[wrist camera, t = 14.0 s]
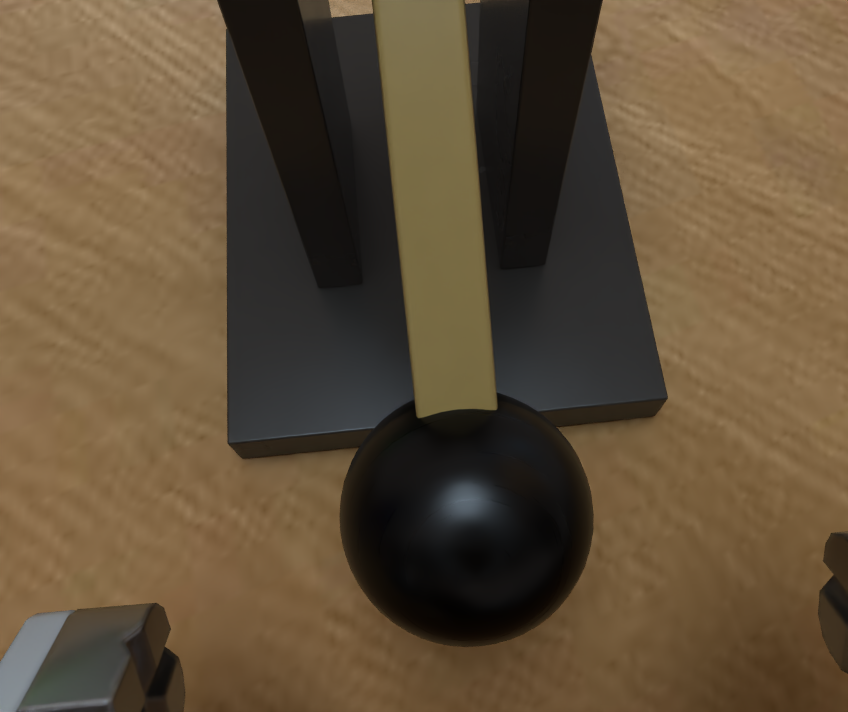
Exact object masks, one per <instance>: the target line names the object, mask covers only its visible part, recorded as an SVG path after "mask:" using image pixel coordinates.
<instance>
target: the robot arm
mask: <svg viewBox="0 0 848 712" xmlns="http://www.w3.org/2000/svg"><path fill="white" fill-rule="evenodd" d="M823 562H824V563H825V564H826V565H827V567H828V568H829V569H830V571H831V572H832V573H833V574H834V575H833V576H832V577H831V579H830V580H829V581H828V582H827V583H826V584H825V585H824V587H823V588H822V589H821V590H820V592H819V606H818V616H819V621H820V626H821V631H822V636H823V638H824V641H825V643H826V645H827V647H828V650H829V652H830V654H831V655H832V657H833V658H834V660H835V661H836V663H837V664H838V666H839V667H840V669H841V670H842V671H844V672H845V673H847V674H848V531H845V532H836V533H831V534H830V536H829V538H828V540H827V542H826V544H825V550H824V558H823ZM170 630H171V628H170V625H169V622H168V618H167V615H166V612H165V609H164V607H162V606H161V605H159V604H158V603H149V604H136V605H124V606H112V607H100V608H87V609H77V610H76V611H75V610H68V611H57V612H47V613H37V614H35V615H34V616H32V617H30V618H28V619H27V620H26V621H25V623H24V624H23V626H22V628H21V629H20V631H19V632H18V634H17V636H16V637H15V639H14V640H13V642H12V644H11V645H10V647H9V649H8V650H7V652H6V653H5V655H4V657H3V658H2V660H1V661H0V712H184V703H185V685H184V676H183V671H182V667H181V663H180V659H179V657H178V656H176V655H175V654H174V653H173V652H171V651H170V650H169V649H167V648H166V647H165V644H166V642H167V639H168V636H169V633H170Z"/></svg>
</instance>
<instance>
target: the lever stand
mask: <svg viewBox="0 0 848 712" xmlns="http://www.w3.org/2000/svg"><path fill="white" fill-rule="evenodd" d="M217 1H218V4H219V7H220V10H221V13H222V15H223V18H224V21H225V24H226V27H227V29H226V135H227V436H228V444H229V446H230V447H231V448H232V449H233V450H234V451H235V452H236V453H237V454H238V455H239V456H240V457H241V458H243V459H244V458H254V457H264V456H273V455H283V454H293V453H302V452H312V451H322V450H332V449H341V448H351V447H360V446H361V444H362V443H363V441H364V440H365V439H366V437H367V436H368V435H369V434H370V432H371V431H372V430H373V429H374V428H375V427H376V426H377V425H378V424H379V423H380V422H381V421H382V420H383V419H384V418H386V417H387V416H388V415H389V414H391V413H392V412H393V411H394V410H396V409H398V408H399V407H401V406H403V405H404V404H406V403H408V402H410V401H412V400H414V391H413V382H412V372H411V363H410V353H409V344H408V335H407V325H406V316H405V306H404V297H403V288H402V278H401V269H400V259H399V250H398V241H397V231H396V222H395V213H394V203H393V194H392V184H391V175H390V166H389V156H388V147H387V137H386V128H385V119H384V109H383V100H382V91H381V81H380V72H379V62H378V53H377V44H376V34H375V25H374V15H373V14H363V15H353V16H343V17H333V18H332V17H331V12H330V7H329V1H328V0H217ZM602 1H603V0H480V3H471V4H465V11H466V23H467V36H468V48H469V60H470V72H471V85H472V97H473V109H474V121H475V134H476V146H477V158H478V170H479V183H480V195H481V207H482V219H483V232H484V244H485V256H486V268H487V281H488V293H489V305H490V317H491V330H492V342H493V354H494V366H495V379H496V391H497V393H500V394H503V395H506V396H509V397H512V398H514V399H516V400H518V401H520V402H522V403H524V404H526V405H528V406H530V407H532V408H533V409H535V410H536V411H538V412H539V413H540V414H542V415H543V416H545V417H546V418H547V419H548V420H549V421H550V422H551V423H552V424H553V425H554V426H564V425H574V424H583V423H593V422H603V421H613V420H622V419H632V418H642V417H651V416H655V415H656V413H657V412H658V411H659V409H660V408H661V407H662V406H663V404H664V403H665V402H666V400H667V399H668V396H667V391H666V387H665V382H664V378H663V373H662V369H661V364H660V360H659V355H658V351H657V347H656V342H655V338H654V333H653V329H652V324H651V320H650V315H649V311H648V306H647V302H646V297H645V293H644V289H643V284H642V280H641V275H640V271H639V266H638V262H637V257H636V253H635V248H634V244H633V239H632V235H631V230H630V226H629V222H628V217H627V213H626V208H625V204H624V199H623V195H622V190H621V186H620V181H619V177H618V172H617V168H616V164H615V159H614V155H613V150H612V146H611V141H610V137H609V132H608V128H607V123H606V119H605V114H604V110H603V105H602V101H601V97H600V92H599V88H598V83H597V79H596V74H595V70H594V65H593V61H592V56H591V52H592V47H593V43H594V38H595V33H596V29H597V24H598V20H599V15H600V10H601V6H602Z"/></svg>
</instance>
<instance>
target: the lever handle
mask: <svg viewBox="0 0 848 712" xmlns="http://www.w3.org/2000/svg"><path fill="white" fill-rule="evenodd" d="M372 6H373V15H374V25H375V34H376V44H377V53H378V62H379V72H380V81H381V91H382V100H383V109H384V119H385V128H386V137H387V147H388V156H389V166H390V175H391V184H392V194H393V203H394V213H395V222H396V231H397V241H398V250H399V259H400V269H401V278H402V288H403V297H404V306H405V316H406V325H407V335H408V344H409V353H410V363H411V372H412V382H413V391H414V400H412V401H410V402H408V403H406V404H404V405H403V406H401V407H399V408H398V409H396V410H394V411H393V412H392V413H391V414H389V415H388V416H387V417H386V418H384V419H383V420H382V421H381V422H380V423H379V424H378V425H377V426H376V427H375V428H374V429H373V430H372V431H371V432H370V434H369V435H368V436H367V437H366V439H365V440H364V441H363V443H362V444H361V446H360V447H359V449H358V451H357V452H356V454H355V456H354V458H353V460H352V462H351V465H350V467H349V470H348V473H347V475H346V478H345V481H344V485H343V490H342V494H341V503H340V531H341V538H342V543H343V548H344V551H345V555H346V558H347V561H348V563H349V566H350V569H351V571H352V573H353V575H354V577H355V579H356V581H357V583H358V584H359V586H360V587H361V589H362V590H363V592H364V593H365V594H366V596H367V597H368V599H369V600H370V601H371V602H372V603H373V605H374V606H375V607H376V608H377V609H378V610H379V611H380V612H381V613H382V614H384V615H385V616H386V617H387V618H388V619H390V620H391V621H392V622H393V623H395V624H396V625H398V626H400V627H401V628H403V629H404V630H406V631H408V632H409V633H411V634H413V635H416V636H418V637H420V638H422V639H425V640H428V641H431V642H435V643H439V644H444V645H449V646H460V647H475V646H485V645H491V644H496V643H500V642H503V641H507V640H510V639H512V638H515V637H517V636H520V635H522V634H524V633H526V632H528V631H529V630H531V629H533V628H535V627H536V626H538V625H539V624H540V623H542V622H543V621H545V620H546V619H547V618H548V617H550V616H551V615H552V614H553V613H554V612H555V611H556V610H557V609H558V608H559V607H560V606H561V604H562V603H563V602H564V601H565V599H566V598H567V597H568V596H569V594H570V593H571V591H572V590H573V588H574V586H575V585H576V583H577V582H578V580H579V578H580V576H581V574H582V571H583V569H584V567H585V564H586V561H587V558H588V554H589V551H590V547H591V541H592V535H593V505H592V497H591V491H590V487H589V483H588V480H587V477H586V474H585V472H584V469H583V467H582V465H581V462H580V460H579V458H578V456H577V454H576V453H575V451H574V449H573V448H572V446H571V444H570V443H569V442H568V441H567V439H566V438H565V437H564V436H563V435H562V433H561V432H560V431H559V430H558V429H557V427H556V426H554V425H553V424H552V423H551V422H550V421H549V420H548V419H547V418H546V417H545V416H543V415H542V414H540V413H539V412H538V411H536V410H535V409H533V408H532V407H530V406H528V405H526V404H524V403H522V402H520V401H518V400H516V399H514V398H512V397H509V396H506V395H503V394H500V393H497V391H496V379H495V366H494V354H493V342H492V330H491V317H490V305H489V293H488V281H487V268H486V256H485V244H484V232H483V219H482V207H481V195H480V183H479V170H478V158H477V146H476V134H475V121H474V109H473V97H472V85H471V72H470V60H469V48H468V36H467V23H466V11H465V0H372Z"/></svg>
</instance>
